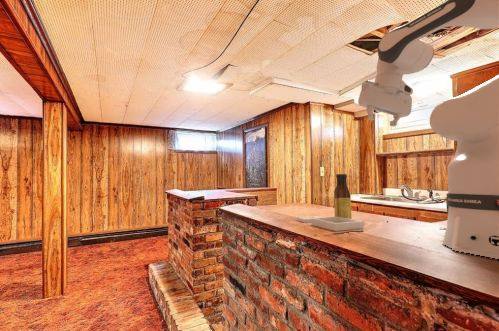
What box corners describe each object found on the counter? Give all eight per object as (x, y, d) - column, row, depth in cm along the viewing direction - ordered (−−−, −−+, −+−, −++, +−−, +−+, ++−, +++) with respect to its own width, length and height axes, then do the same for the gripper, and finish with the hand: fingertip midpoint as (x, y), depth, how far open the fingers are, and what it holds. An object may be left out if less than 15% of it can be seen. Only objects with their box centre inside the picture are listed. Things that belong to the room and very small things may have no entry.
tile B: (315, 221, 96) (315, 218, 96) (303, 222, 95) (303, 219, 95) (308, 219, 101) (308, 216, 101) (297, 220, 99) (297, 217, 99)
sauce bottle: (354, 224, 98) (354, 174, 99) (345, 226, 95) (344, 173, 96) (340, 222, 104) (340, 174, 105) (330, 223, 100) (330, 173, 101)
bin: (363, 231, 85) (363, 221, 85) (335, 234, 79) (335, 223, 79) (337, 225, 95) (337, 216, 95) (311, 228, 90) (311, 218, 90)
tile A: (327, 220, 99) (327, 217, 99) (318, 221, 97) (318, 218, 97) (318, 218, 104) (318, 215, 104) (309, 219, 101) (309, 216, 101)
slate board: (331, 224, 98) (331, 221, 98) (306, 226, 93) (306, 223, 93) (314, 220, 107) (314, 217, 107) (290, 222, 102) (290, 219, 102)
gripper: (369, 75, 87) (363, 113, 85) (417, 91, 91) (412, 127, 90) (357, 82, 93) (351, 118, 91) (402, 96, 97) (398, 130, 96)
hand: (382, 123), depth 91 cm, fingers open, 8 cm apart
